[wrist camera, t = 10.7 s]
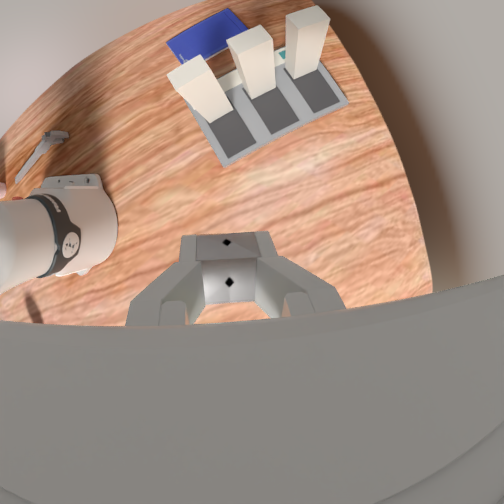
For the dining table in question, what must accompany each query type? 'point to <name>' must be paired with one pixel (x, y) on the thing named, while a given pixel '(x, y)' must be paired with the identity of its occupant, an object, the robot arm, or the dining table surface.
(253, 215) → the dining table surface
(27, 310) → the dining table surface
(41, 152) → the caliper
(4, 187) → the smoothie
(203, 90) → the cream tall block
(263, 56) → the cream tall flat block
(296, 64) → the cream tall block
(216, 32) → the hard drive
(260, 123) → the switch base
